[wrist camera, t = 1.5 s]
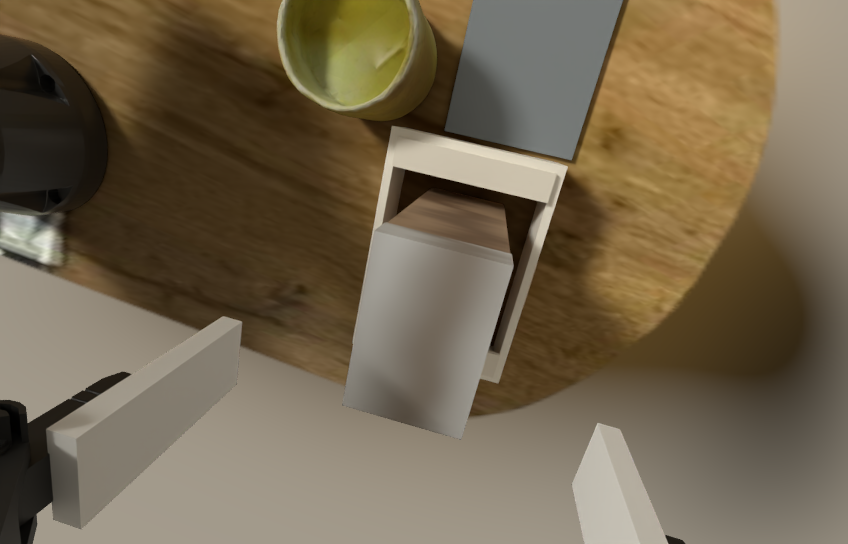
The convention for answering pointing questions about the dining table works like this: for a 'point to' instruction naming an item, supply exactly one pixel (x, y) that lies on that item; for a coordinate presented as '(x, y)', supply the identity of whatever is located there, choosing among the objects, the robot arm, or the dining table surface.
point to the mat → (530, 71)
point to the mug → (358, 54)
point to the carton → (487, 172)
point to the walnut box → (429, 311)
